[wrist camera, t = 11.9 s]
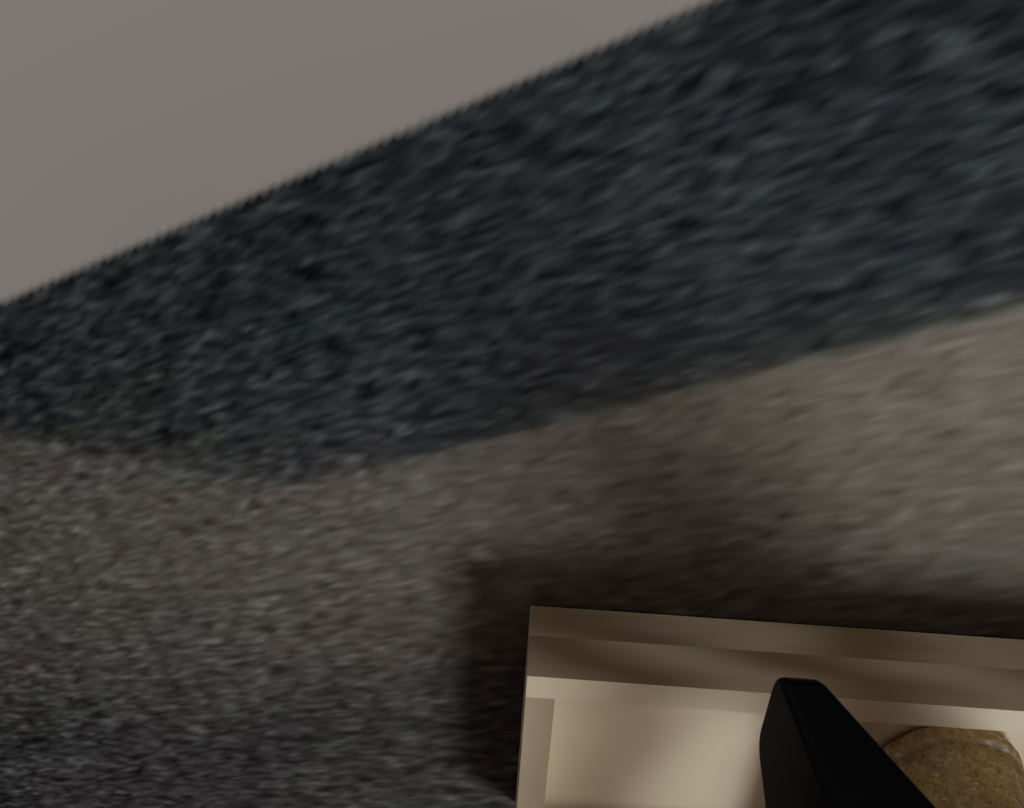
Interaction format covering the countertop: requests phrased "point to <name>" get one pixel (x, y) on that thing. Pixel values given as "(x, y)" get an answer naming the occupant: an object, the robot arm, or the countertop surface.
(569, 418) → the countertop surface
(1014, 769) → the sprinkles bottle
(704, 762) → the caddy
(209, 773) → the countertop surface
